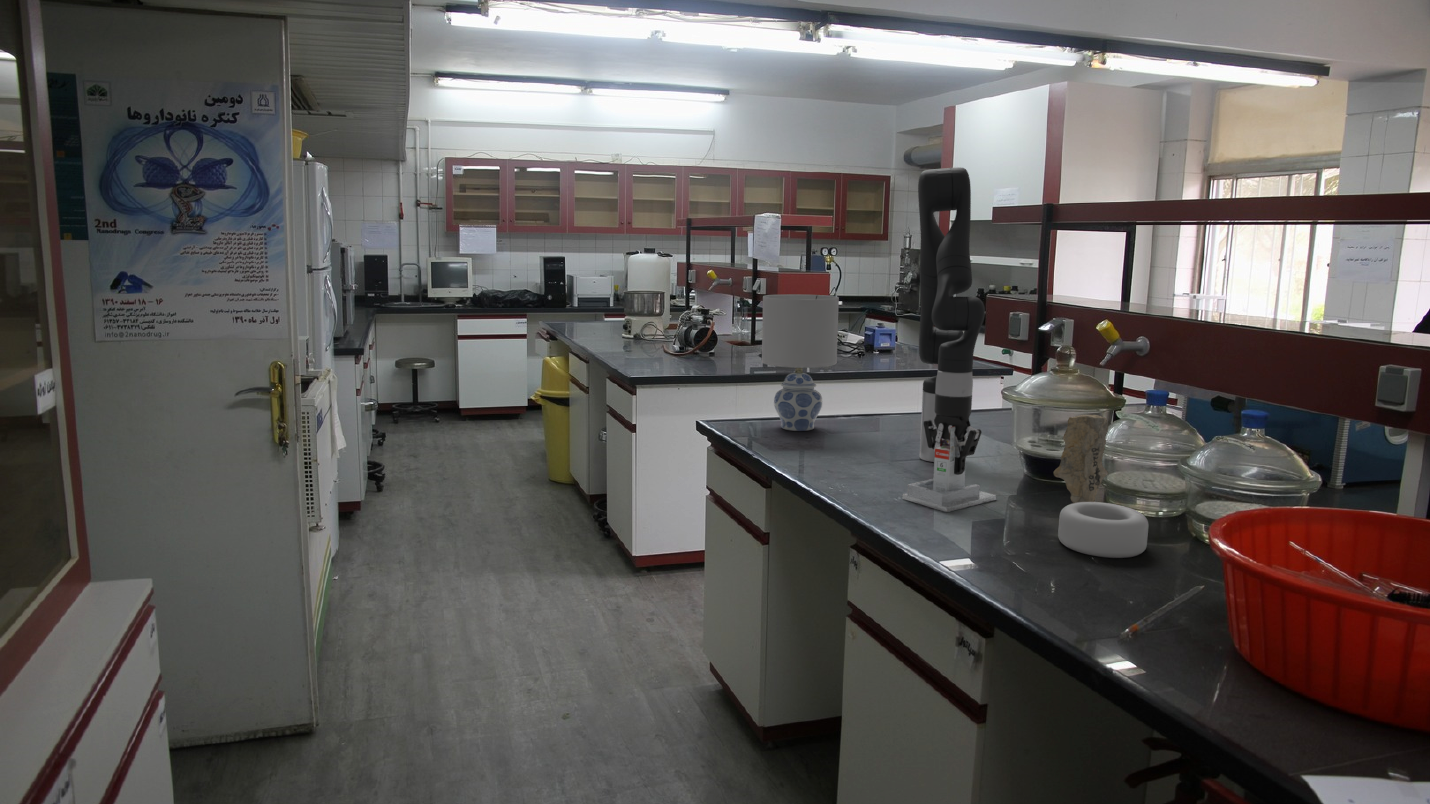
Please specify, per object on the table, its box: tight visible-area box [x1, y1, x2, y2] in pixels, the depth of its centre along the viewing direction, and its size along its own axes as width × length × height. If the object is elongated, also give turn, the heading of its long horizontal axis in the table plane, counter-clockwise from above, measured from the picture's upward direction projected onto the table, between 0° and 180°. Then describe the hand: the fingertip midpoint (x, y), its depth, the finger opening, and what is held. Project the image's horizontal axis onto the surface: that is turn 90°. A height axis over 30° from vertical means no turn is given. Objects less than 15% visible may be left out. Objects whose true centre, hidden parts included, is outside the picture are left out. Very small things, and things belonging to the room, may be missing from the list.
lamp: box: [761, 293, 840, 432], centre depth 270 cm, size 22×22×38 cm
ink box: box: [933, 426, 968, 492], centre depth 199 cm, size 4×8×15 cm, turn 139°
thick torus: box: [1057, 501, 1149, 559], centre depth 171 cm, size 15×15×7 cm
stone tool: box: [1053, 414, 1109, 504], centre depth 193 cm, size 12×6×20 cm, turn 96°
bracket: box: [902, 478, 997, 513], centre depth 200 cm, size 16×12×4 cm
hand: (949, 471), depth 199 cm, fingers closed on ink box, 4 cm apart
